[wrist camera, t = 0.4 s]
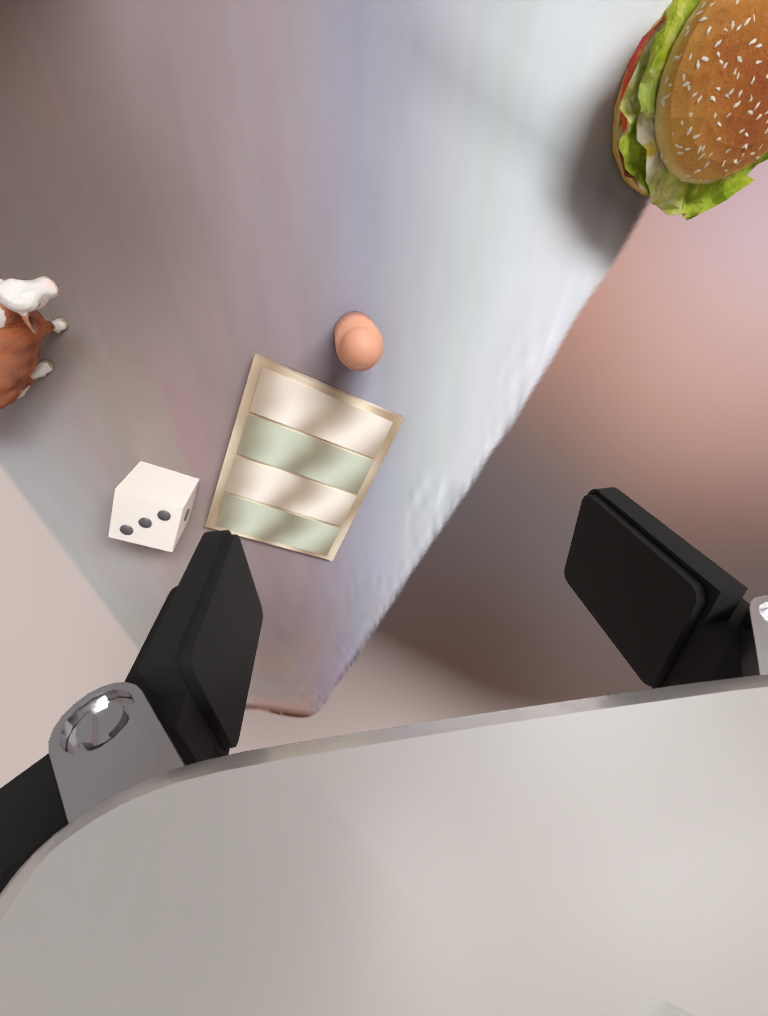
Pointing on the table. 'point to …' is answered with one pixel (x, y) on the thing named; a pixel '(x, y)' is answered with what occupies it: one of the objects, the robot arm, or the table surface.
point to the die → (152, 506)
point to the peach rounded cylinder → (357, 341)
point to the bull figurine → (24, 334)
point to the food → (695, 105)
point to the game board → (299, 461)
